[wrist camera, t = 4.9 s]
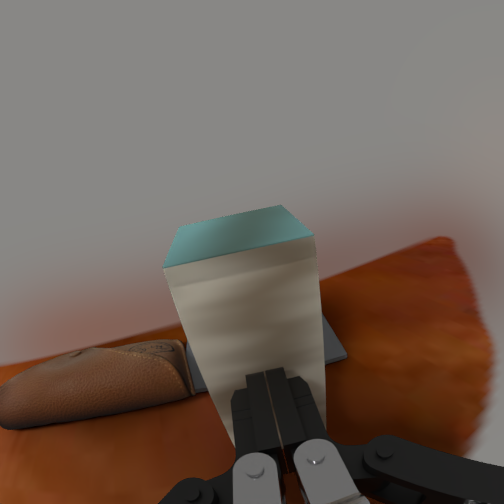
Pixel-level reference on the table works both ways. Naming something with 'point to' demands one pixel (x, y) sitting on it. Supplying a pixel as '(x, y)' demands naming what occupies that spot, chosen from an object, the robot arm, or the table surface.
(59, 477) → the table surface
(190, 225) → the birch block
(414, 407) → the table surface
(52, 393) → the sunglasses case
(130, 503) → the table surface
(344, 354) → the rubber mat
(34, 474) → the table surface
